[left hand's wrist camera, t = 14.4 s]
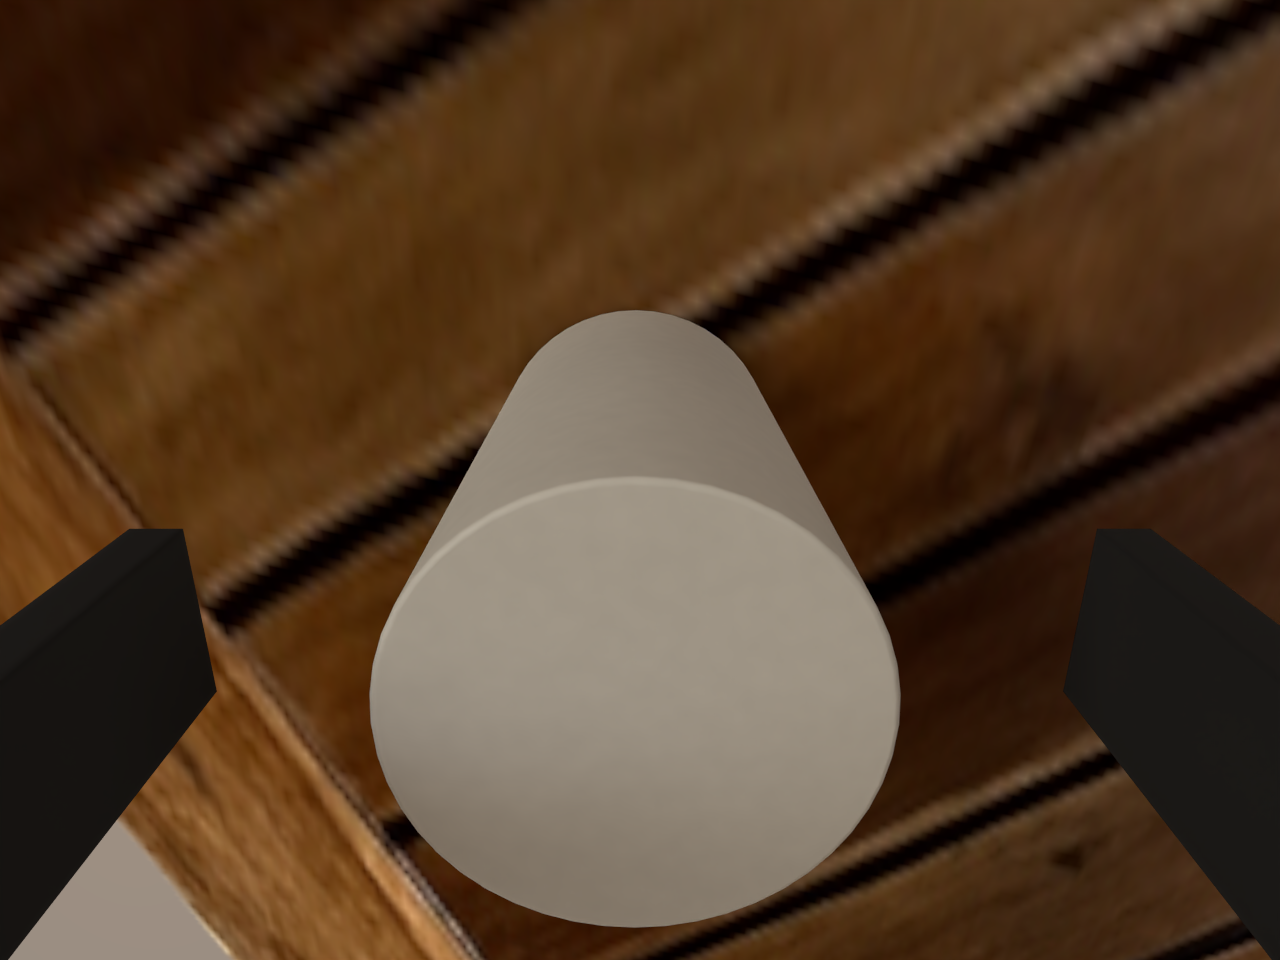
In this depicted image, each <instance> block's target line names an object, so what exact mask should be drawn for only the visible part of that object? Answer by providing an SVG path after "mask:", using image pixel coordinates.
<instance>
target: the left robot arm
mask: <svg viewBox="0 0 1280 960" xmlns="http://www.w3.org/2000/svg"><path fill="white" fill-rule="evenodd" d="M216 692H217V690H216V686H215V681H214V676H213V671H212V666H211V662H210V657H209V652H208V647H207V642H206V638H205V633H204V628H203V623H202V618H201V614H200V609H199V604H198V599H197V595H196V590H195V585H194V580H193V575H192V571H191V566H190V561H189V556H188V551H187V547H186V542H185V537H184V532H183V529H129V530H127V531H126V532H125V533H123V534H122V535H121V536H119V537H118V538H117V539H115V540H114V541H113V542H111V543H110V544H109V545H107V546H106V547H105V548H103V549H102V550H101V551H99V552H98V553H97V554H95V555H94V556H93V557H91V558H90V559H89V560H87V561H86V562H85V563H83V564H82V565H81V566H79V567H78V568H77V569H75V570H74V571H73V572H71V573H70V574H69V575H67V576H66V577H65V578H63V579H62V580H61V581H59V582H58V583H57V584H55V585H54V586H53V587H51V588H50V589H49V590H47V591H46V592H45V593H43V594H42V595H41V596H39V597H38V598H37V599H35V600H34V601H33V602H31V603H30V604H28V605H27V606H26V607H24V608H23V609H22V610H20V611H19V612H18V613H16V614H15V615H14V616H12V617H11V618H10V619H8V620H7V621H6V622H4V623H3V624H2V625H0V960H8V959H9V958H10V956H11V955H12V954H13V953H14V951H15V950H16V949H17V948H18V946H19V945H20V944H21V942H22V941H23V940H24V939H25V937H26V936H27V935H28V933H29V932H30V931H31V930H32V928H33V927H34V926H35V924H36V923H37V922H38V921H39V919H40V918H41V917H42V915H43V914H44V913H45V911H46V910H47V909H48V908H49V906H50V905H51V904H52V903H53V901H54V900H55V899H56V897H57V896H58V895H59V894H60V892H61V891H62V890H63V888H64V887H65V886H66V885H67V883H68V882H69V881H70V879H71V878H72V877H73V876H74V874H75V873H76V872H77V870H78V869H79V868H80V866H81V865H82V864H83V863H84V861H85V860H86V859H87V858H88V856H89V855H90V854H91V852H92V851H93V850H94V848H95V847H96V846H97V845H98V843H99V842H100V841H101V840H102V838H103V837H104V836H105V834H106V833H107V832H108V831H109V829H110V828H111V827H112V825H113V824H114V823H115V821H116V820H117V819H118V818H119V816H120V815H121V814H122V812H123V811H124V810H125V809H126V807H127V806H128V805H129V803H130V802H131V801H132V800H133V798H134V797H135V796H136V794H137V793H138V792H139V791H140V789H141V788H142V787H143V785H144V784H145V783H146V782H147V780H148V779H149V778H150V776H151V775H152V774H153V773H154V771H155V770H156V769H157V767H158V766H159V765H160V764H161V762H162V761H163V760H164V758H165V757H166V756H167V755H168V753H169V752H170V751H171V749H172V748H173V747H174V746H175V744H176V743H177V742H178V740H179V739H180V738H181V737H182V735H183V734H184V733H185V731H186V730H187V729H188V728H189V726H190V725H191V724H192V722H193V721H194V720H195V719H196V717H197V716H198V715H199V713H200V712H201V711H202V710H203V708H204V707H205V706H206V704H207V703H208V702H209V701H210V699H211V698H212V697H213V695H214V694H215V693H216ZM1063 692H1064V693H1065V694H1066V695H1067V697H1068V698H1069V699H1070V701H1071V702H1072V703H1073V704H1074V706H1075V707H1076V708H1077V710H1078V711H1079V712H1080V713H1081V715H1082V716H1083V717H1084V719H1085V720H1086V721H1087V722H1088V724H1089V725H1090V726H1091V728H1092V729H1093V730H1094V731H1095V733H1096V734H1097V735H1098V737H1099V738H1100V739H1101V740H1102V742H1103V743H1104V744H1105V746H1106V747H1107V748H1108V749H1109V751H1110V752H1111V753H1112V755H1113V756H1114V757H1115V758H1116V760H1117V761H1118V762H1119V764H1120V765H1121V766H1122V767H1123V769H1124V770H1125V771H1126V773H1127V774H1128V775H1129V776H1130V778H1131V779H1132V780H1133V782H1134V783H1135V784H1136V785H1137V787H1138V788H1139V789H1140V791H1141V792H1142V793H1143V794H1144V796H1145V797H1146V798H1147V800H1148V801H1149V802H1150V803H1151V805H1152V806H1153V807H1154V809H1155V810H1156V811H1157V812H1158V814H1159V815H1160V816H1161V818H1162V819H1163V820H1164V821H1165V823H1166V824H1167V825H1168V827H1169V828H1170V829H1171V831H1172V832H1173V833H1174V834H1175V836H1176V837H1177V838H1178V840H1179V841H1180V842H1181V843H1182V845H1183V846H1184V847H1185V849H1186V850H1187V851H1188V852H1189V854H1190V855H1191V856H1192V858H1193V859H1194V860H1195V861H1196V863H1197V864H1198V865H1199V867H1200V868H1201V869H1202V870H1203V872H1204V873H1205V874H1206V876H1207V877H1208V878H1209V879H1210V881H1211V882H1212V883H1213V885H1214V886H1215V887H1216V888H1217V890H1218V891H1219V892H1220V894H1221V895H1222V896H1223V897H1224V899H1225V900H1226V901H1227V903H1228V904H1229V905H1230V906H1231V908H1232V909H1233V910H1234V912H1235V913H1236V914H1237V915H1238V917H1239V918H1240V919H1241V921H1242V922H1243V923H1244V924H1245V926H1246V927H1247V928H1248V930H1249V931H1250V932H1251V933H1252V935H1253V936H1254V937H1255V939H1256V940H1257V941H1258V942H1259V944H1260V945H1261V946H1262V948H1263V949H1264V950H1265V951H1266V953H1267V954H1268V955H1269V957H1270V958H1271V959H1272V960H1280V625H1278V624H1277V623H1276V622H1274V621H1273V620H1272V619H1270V618H1269V617H1268V616H1266V615H1265V614H1264V613H1262V612H1261V611H1260V610H1258V609H1257V608H1256V607H1254V606H1253V605H1252V604H1250V603H1249V602H1247V601H1246V600H1245V599H1243V598H1242V597H1241V596H1239V595H1238V594H1237V593H1235V592H1234V591H1233V590H1231V589H1230V588H1229V587H1227V586H1226V585H1225V584H1223V583H1222V582H1221V581H1219V580H1218V579H1217V578H1215V577H1214V576H1213V575H1211V574H1210V573H1209V572H1207V571H1206V570H1205V569H1203V568H1202V567H1201V566H1199V565H1198V564H1197V563H1195V562H1194V561H1193V560H1191V559H1190V558H1189V557H1187V556H1186V555H1185V554H1183V553H1182V552H1181V551H1179V550H1178V549H1177V548H1175V547H1174V546H1173V545H1171V544H1170V543H1169V542H1167V541H1166V540H1165V539H1163V538H1162V537H1161V536H1159V535H1158V534H1157V533H1155V532H1154V531H1153V530H1151V529H1097V532H1096V537H1095V542H1094V547H1093V551H1092V556H1091V561H1090V566H1089V571H1088V575H1087V580H1086V585H1085V590H1084V595H1083V599H1082V604H1081V609H1080V614H1079V618H1078V623H1077V628H1076V633H1075V638H1074V642H1073V647H1072V652H1071V657H1070V662H1069V666H1068V671H1067V676H1066V681H1065V686H1064V690H1063Z"/></svg>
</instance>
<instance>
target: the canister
mask: <svg viewBox="0 0 1280 960" xmlns="http://www.w3.org/2000/svg"><path fill="white" fill-rule="evenodd" d="M900 696H901V694H900V684H899V675H898V665H897V661H896V657H895V654H894V650H893V646H892V643H891V639H890V635H889V633H888V631H887V628H886V626H885V624H884V622H883V619H882V617H881V615H880V613H879V610H878V608H877V606H876V604H875V602H874V600H873V599H872V597H871V595H870V593H869V591H868V589H867V588H866V586H865V584H864V582H863V580H862V578H861V576H860V575H859V573H858V571H857V569H856V567H855V565H854V564H853V562H852V560H851V558H850V556H849V554H848V553H847V551H846V549H845V547H844V545H843V543H842V542H841V540H840V538H839V536H838V534H837V532H836V530H835V529H834V527H833V525H832V523H831V521H830V519H829V518H828V516H827V514H826V512H825V510H824V508H823V507H822V505H821V503H820V501H819V499H818V497H817V496H816V494H815V492H814V490H813V488H812V486H811V485H810V483H809V481H808V479H807V477H806V475H805V473H804V472H803V470H802V468H801V466H800V464H799V462H798V461H797V459H796V457H795V455H794V453H793V451H792V450H791V448H790V446H789V444H788V442H787V440H786V439H785V437H784V435H783V433H782V431H781V429H780V428H779V426H778V424H777V422H776V420H775V418H774V416H773V415H772V413H771V411H770V409H769V407H768V405H767V404H766V402H765V400H764V398H763V396H762V394H761V393H760V391H759V389H758V387H757V385H756V383H755V382H754V380H753V378H752V376H751V375H750V373H749V372H748V370H747V368H746V367H745V365H744V364H743V363H742V361H741V360H740V359H739V358H738V357H737V355H736V354H735V353H734V352H733V351H732V350H731V349H730V348H729V347H728V346H727V345H726V344H725V343H723V342H722V341H721V340H720V339H719V338H717V337H716V336H714V335H713V334H711V333H710V332H709V331H707V330H706V329H704V328H702V327H700V326H698V325H696V324H694V323H692V322H690V321H688V320H685V319H682V318H679V317H676V316H673V315H669V314H664V313H659V312H654V311H640V310H632V311H617V312H612V313H607V314H602V315H598V316H595V317H592V318H589V319H587V320H584V321H581V322H579V323H577V324H575V325H573V326H571V327H569V328H567V329H566V330H564V331H563V332H561V333H560V334H558V335H557V336H555V337H554V338H552V339H551V340H550V341H549V342H548V343H547V344H546V345H545V346H544V347H542V348H541V349H540V350H539V351H538V352H537V354H536V355H535V356H534V357H533V358H532V359H531V361H530V362H529V363H528V364H527V366H526V368H525V369H524V371H523V372H522V374H521V375H520V377H519V379H518V380H517V382H516V384H515V386H514V388H513V390H512V391H511V393H510V395H509V397H508V399H507V400H506V402H505V404H504V406H503V408H502V410H501V411H500V413H499V415H498V417H497V419H496V421H495V422H494V424H493V426H492V428H491V430H490V431H489V433H488V435H487V437H486V439H485V441H484V442H483V444H482V446H481V448H480V450H479V452H478V453H477V455H476V457H475V459H474V461H473V462H472V464H471V466H470V468H469V470H468V472H467V473H466V475H465V477H464V479H463V481H462V483H461V484H460V486H459V488H458V490H457V492H456V493H455V495H454V497H453V499H452V501H451V503H450V504H449V506H448V508H447V510H446V512H445V514H444V515H443V517H442V519H441V521H440V523H439V524H438V526H437V528H436V530H435V532H434V534H433V535H432V537H431V539H430V541H429V543H428V545H427V546H426V548H425V550H424V552H423V554H422V555H421V557H420V559H419V561H418V563H417V565H416V566H415V568H414V570H413V572H412V574H411V576H410V577H409V579H408V581H407V583H406V585H405V587H404V588H403V590H402V592H401V594H400V596H399V597H398V599H397V601H396V603H395V605H394V607H393V609H392V611H391V613H390V616H389V618H388V620H387V622H386V625H385V627H384V629H383V631H382V633H381V636H380V640H379V644H378V647H377V651H376V655H375V658H374V662H373V668H372V677H371V686H370V714H371V726H372V731H373V736H374V741H375V746H376V751H377V756H378V758H379V761H380V764H381V767H382V769H383V772H384V775H385V778H386V781H387V783H388V785H389V787H390V789H391V791H392V792H393V794H394V796H395V798H396V800H397V802H398V804H399V806H400V808H401V809H402V810H403V812H404V813H405V815H406V816H407V817H408V819H409V820H410V822H411V823H412V824H413V826H414V827H415V828H416V830H417V831H418V832H419V833H420V835H421V836H422V837H423V838H424V839H425V840H426V841H427V842H428V843H429V844H430V845H431V846H432V847H433V848H434V849H435V851H436V852H437V853H438V854H440V855H441V856H442V857H443V858H444V859H446V860H447V861H448V862H449V863H450V864H452V865H453V866H454V867H455V868H456V869H458V870H459V871H460V872H461V873H463V874H464V875H466V876H467V877H469V878H470V879H472V880H474V881H475V882H477V883H478V884H480V885H481V886H483V887H484V888H486V889H488V890H490V891H492V892H494V893H496V894H498V895H500V896H502V897H504V898H506V899H508V900H510V901H512V902H514V903H516V904H519V905H522V906H524V907H527V908H530V909H532V910H535V911H538V912H540V913H543V914H547V915H551V916H555V917H559V918H563V919H566V920H570V921H575V922H582V923H588V924H595V925H602V926H618V927H652V926H668V925H675V924H681V923H688V922H694V921H699V920H703V919H707V918H711V917H715V916H719V915H723V914H727V913H729V912H732V911H735V910H737V909H740V908H743V907H745V906H748V905H751V904H754V903H756V902H758V901H760V900H762V899H764V898H766V897H768V896H770V895H772V894H774V893H776V892H778V891H780V890H782V889H784V888H785V887H787V886H788V885H790V884H792V883H793V882H795V881H796V880H798V879H799V878H801V877H802V876H804V875H805V874H807V873H808V872H810V871H811V870H812V869H813V868H815V867H816V866H817V865H818V864H819V863H821V862H822V861H823V860H824V859H825V858H827V857H828V856H829V855H830V854H831V853H832V852H833V851H834V850H835V849H836V848H837V847H838V846H839V845H840V844H841V843H842V842H843V841H844V840H845V839H846V838H847V837H848V835H849V834H850V833H851V832H852V831H853V830H854V828H855V827H856V825H857V824H858V823H859V821H860V820H861V819H862V817H863V816H864V814H865V813H866V812H867V810H868V809H869V807H870V805H871V803H872V802H873V800H874V798H875V796H876V794H877V792H878V790H879V789H880V787H881V785H882V783H883V780H884V778H885V775H886V772H887V769H888V767H889V764H890V761H891V759H892V756H893V751H894V746H895V741H896V737H897V732H898V727H899V716H900Z"/></svg>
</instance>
